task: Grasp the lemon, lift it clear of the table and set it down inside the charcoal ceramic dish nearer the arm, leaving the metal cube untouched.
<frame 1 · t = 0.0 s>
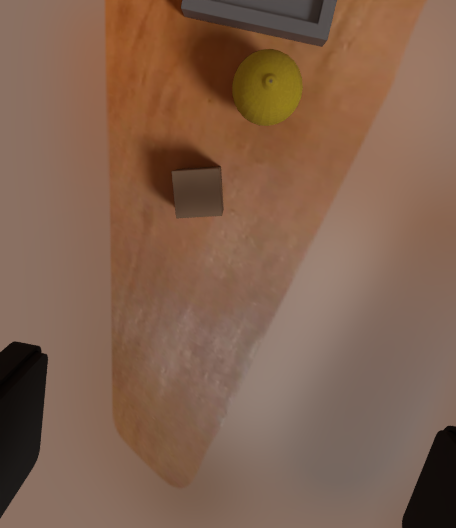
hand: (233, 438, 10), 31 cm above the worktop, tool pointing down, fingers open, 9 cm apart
lemon: (263, 95, 37), on the worktop
metal cube: (201, 189, 39), on the worktop
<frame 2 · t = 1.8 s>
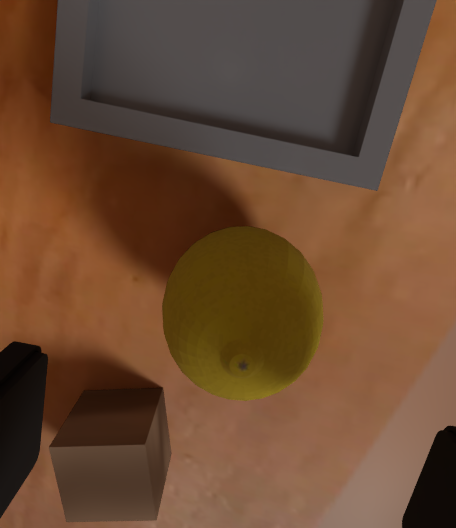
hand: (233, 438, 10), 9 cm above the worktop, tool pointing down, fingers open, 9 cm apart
lemon: (242, 268, 19), on the worktop
metal cube: (129, 421, 21), on the worktop
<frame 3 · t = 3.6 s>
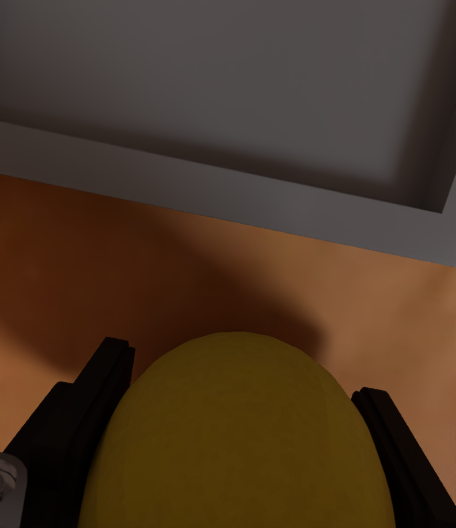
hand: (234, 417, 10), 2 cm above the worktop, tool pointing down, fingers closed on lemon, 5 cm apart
lemon: (236, 371, 12), on the worktop, touching gripper
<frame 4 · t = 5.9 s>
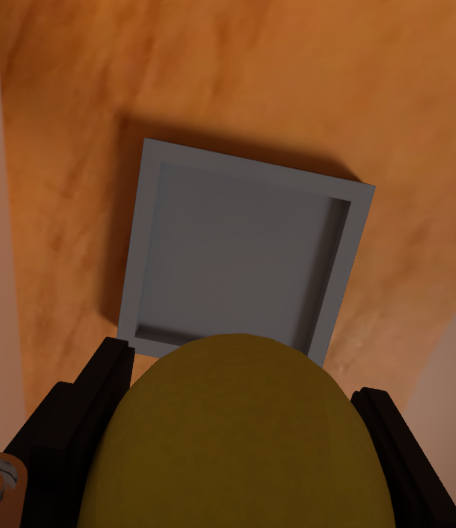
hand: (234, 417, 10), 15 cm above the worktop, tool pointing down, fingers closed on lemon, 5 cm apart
lemon: (236, 373, 12), point 13 cm above the worktop, touching gripper
dish: (237, 262, 25), on the worktop
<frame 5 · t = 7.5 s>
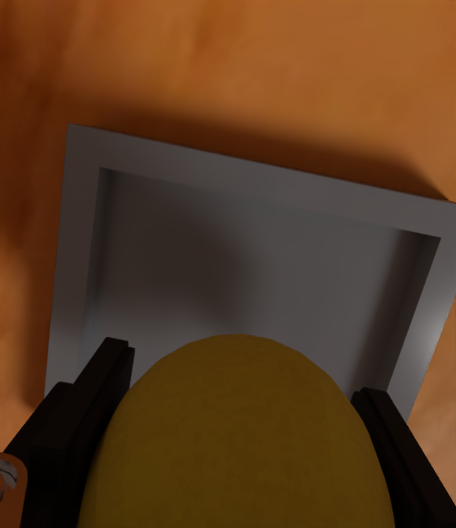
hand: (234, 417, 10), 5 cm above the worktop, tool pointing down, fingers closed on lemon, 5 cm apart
lemon: (236, 373, 12), point 3 cm above the worktop, touching gripper
dish: (237, 326, 15), on the worktop
when the fingers open (4 cm above the worktop, at t = 8.5 s): lemon drops 2 cm, resting on dish.
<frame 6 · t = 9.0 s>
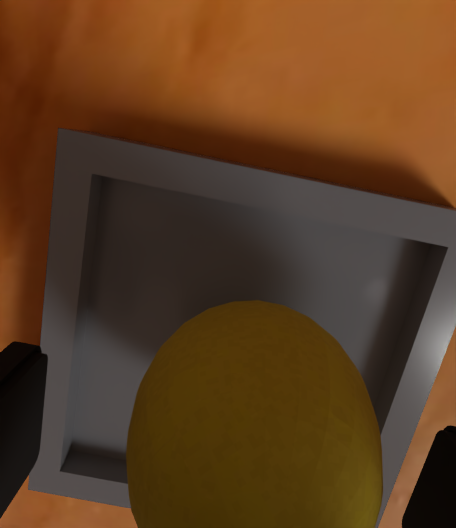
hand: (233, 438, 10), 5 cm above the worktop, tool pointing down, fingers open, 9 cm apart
lemon: (248, 343, 14), point 1 cm above the worktop, touching dish
dish: (235, 338, 15), on the worktop
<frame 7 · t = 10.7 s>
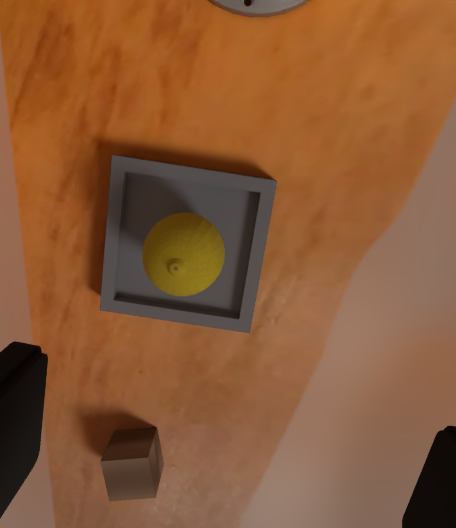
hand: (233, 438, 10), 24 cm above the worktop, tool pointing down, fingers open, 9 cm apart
lemon: (191, 241, 32), point 1 cm above the worktop, touching dish
dish: (187, 242, 33), on the worktop
metal cube: (139, 447, 38), on the worktop
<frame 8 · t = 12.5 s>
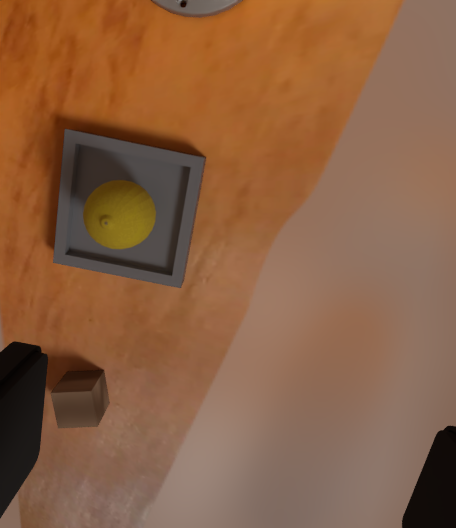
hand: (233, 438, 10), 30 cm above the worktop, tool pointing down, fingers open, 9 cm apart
lemon: (133, 207, 38), point 1 cm above the worktop, touching dish
dish: (131, 208, 39), on the worktop
metal cube: (88, 387, 44), on the worktop
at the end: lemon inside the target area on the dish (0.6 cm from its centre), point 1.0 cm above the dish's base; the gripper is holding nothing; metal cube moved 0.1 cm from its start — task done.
